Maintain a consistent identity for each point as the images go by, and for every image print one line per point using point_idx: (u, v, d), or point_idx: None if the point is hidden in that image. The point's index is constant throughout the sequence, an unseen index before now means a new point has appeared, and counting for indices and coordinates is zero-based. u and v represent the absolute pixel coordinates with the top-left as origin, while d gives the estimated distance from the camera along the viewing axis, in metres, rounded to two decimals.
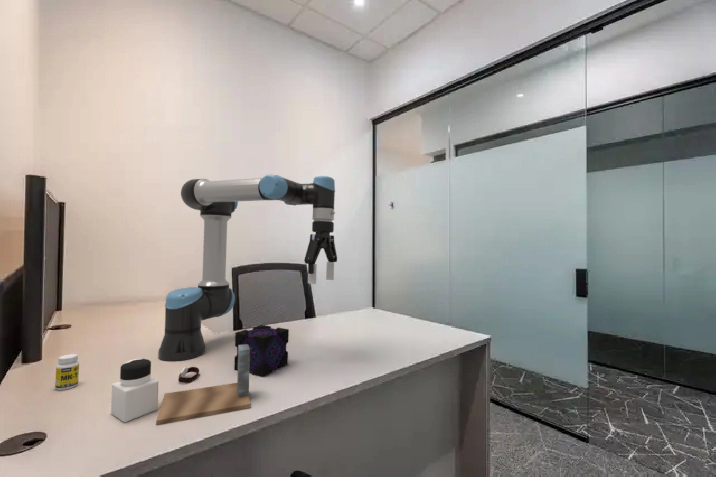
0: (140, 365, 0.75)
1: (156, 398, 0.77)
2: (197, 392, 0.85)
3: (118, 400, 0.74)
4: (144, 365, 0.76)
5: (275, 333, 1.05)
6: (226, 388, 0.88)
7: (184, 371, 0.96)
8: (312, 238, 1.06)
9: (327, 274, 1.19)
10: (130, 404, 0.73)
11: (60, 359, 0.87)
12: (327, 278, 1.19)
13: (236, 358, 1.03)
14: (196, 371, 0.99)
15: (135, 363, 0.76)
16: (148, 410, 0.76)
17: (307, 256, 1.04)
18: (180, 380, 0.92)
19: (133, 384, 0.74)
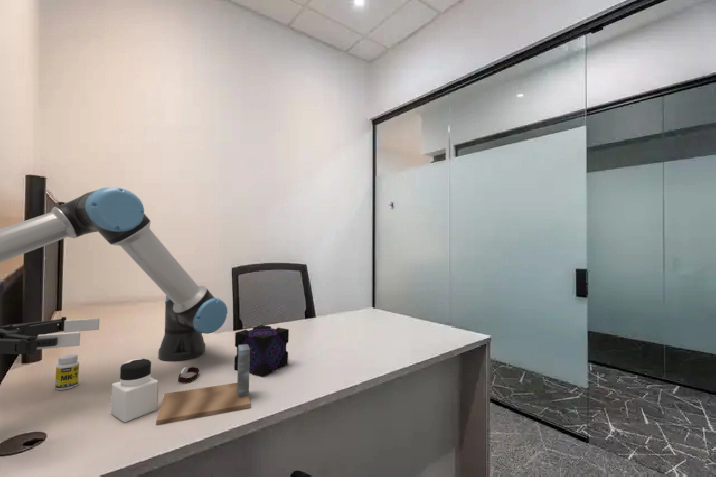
0: (140, 365, 0.75)
1: (156, 398, 0.77)
2: (197, 392, 0.85)
3: (118, 400, 0.74)
4: (144, 365, 0.76)
5: (275, 333, 1.05)
6: (226, 388, 0.88)
7: (184, 371, 0.96)
8: None
9: None
10: (130, 404, 0.73)
11: (60, 359, 0.87)
12: None
13: (236, 358, 1.03)
14: (196, 371, 0.99)
15: (135, 363, 0.76)
16: (148, 410, 0.76)
17: None
18: (180, 380, 0.92)
19: (133, 384, 0.74)
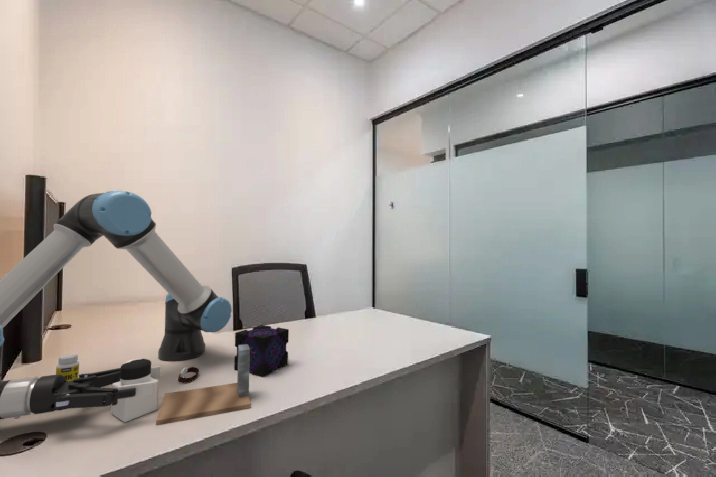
0: (140, 365, 0.75)
1: (156, 398, 0.77)
2: (197, 392, 0.85)
3: (118, 399, 0.74)
4: (144, 365, 0.76)
5: (275, 333, 1.05)
6: (226, 388, 0.88)
7: (184, 371, 0.96)
8: None
9: None
10: (130, 404, 0.73)
11: (60, 359, 0.87)
12: None
13: (236, 358, 1.03)
14: (196, 371, 0.99)
15: (135, 362, 0.76)
16: (148, 410, 0.76)
17: None
18: (180, 380, 0.92)
19: None
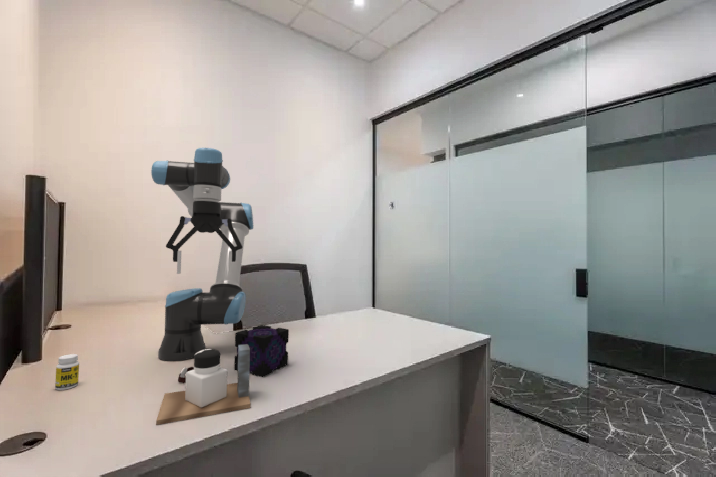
0: (212, 355, 0.80)
1: (226, 386, 0.83)
2: None
3: (193, 387, 0.79)
4: (216, 354, 0.81)
5: (275, 333, 1.05)
6: None
7: (183, 371, 0.96)
8: None
9: (228, 266, 0.98)
10: (205, 391, 0.78)
11: (60, 359, 0.87)
12: (228, 271, 0.98)
13: (236, 358, 1.03)
14: None
15: (208, 352, 0.81)
16: (219, 397, 0.81)
17: None
18: (180, 380, 0.92)
19: (207, 372, 0.80)
